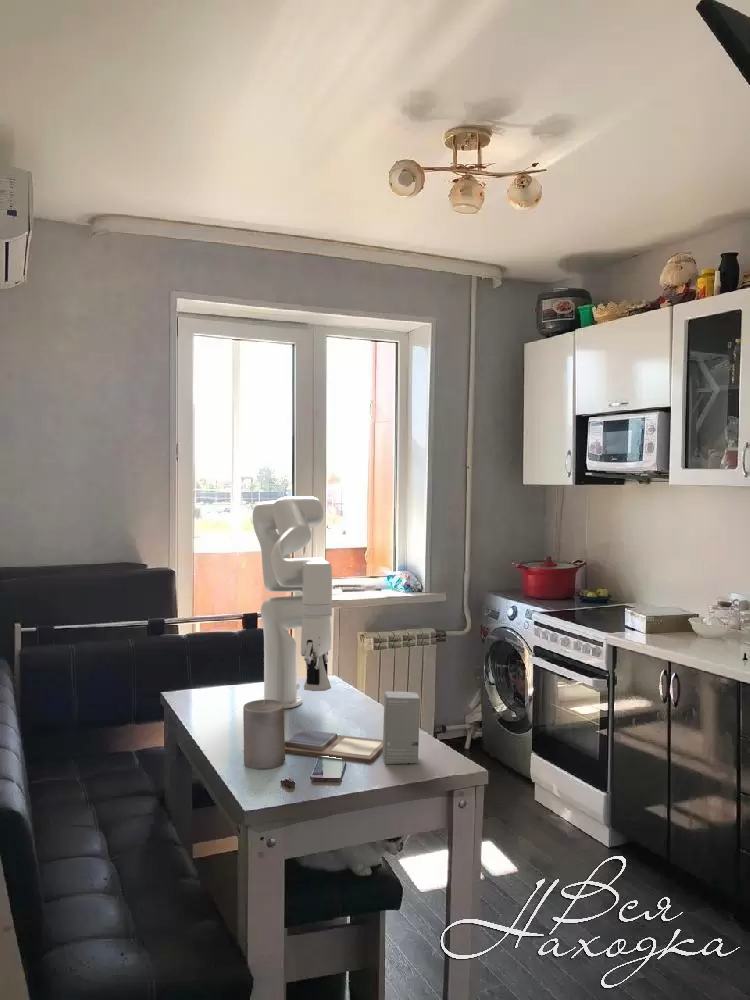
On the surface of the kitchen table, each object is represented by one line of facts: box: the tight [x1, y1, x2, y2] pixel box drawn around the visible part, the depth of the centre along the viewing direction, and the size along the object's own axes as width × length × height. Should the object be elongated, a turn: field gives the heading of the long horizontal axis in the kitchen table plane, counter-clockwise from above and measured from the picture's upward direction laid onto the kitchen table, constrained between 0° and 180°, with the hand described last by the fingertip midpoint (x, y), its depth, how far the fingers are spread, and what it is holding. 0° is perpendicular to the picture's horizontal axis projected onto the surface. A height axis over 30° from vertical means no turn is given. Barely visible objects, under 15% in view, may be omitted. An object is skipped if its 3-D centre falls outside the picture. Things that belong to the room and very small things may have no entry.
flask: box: [303, 654, 332, 692], centre depth 205 cm, size 7×7×10 cm
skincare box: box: [382, 691, 421, 765], centre depth 194 cm, size 8×7×16 cm
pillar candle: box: [242, 699, 286, 770], centre depth 192 cm, size 10×10×15 cm
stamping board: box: [285, 729, 383, 764], centre depth 202 cm, size 14×24×2 cm, turn 72°
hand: (317, 680), depth 206 cm, fingers closed on flask, 4 cm apart
